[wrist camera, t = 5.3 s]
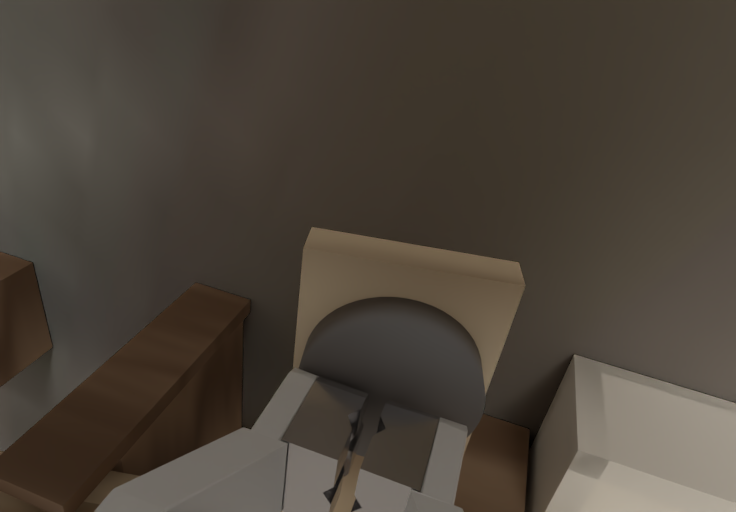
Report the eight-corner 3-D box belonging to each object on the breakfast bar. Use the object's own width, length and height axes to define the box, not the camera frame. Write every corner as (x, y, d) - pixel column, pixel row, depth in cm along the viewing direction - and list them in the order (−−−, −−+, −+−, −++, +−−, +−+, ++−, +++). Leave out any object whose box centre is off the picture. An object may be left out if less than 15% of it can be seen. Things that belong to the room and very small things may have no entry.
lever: (-587, 70, 10) (-1090, 134, 7) (621, 277, 10) (721, 452, 7) (-233, 513, 18) (-386, 645, 15) (449, 637, 18) (454, 801, 14)
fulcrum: (-32, 209, 23) (-331, 333, 15) (545, 394, 18) (536, 713, 10) (11, 355, 27) (-203, 508, 20) (482, 534, 22) (443, 828, 15)
